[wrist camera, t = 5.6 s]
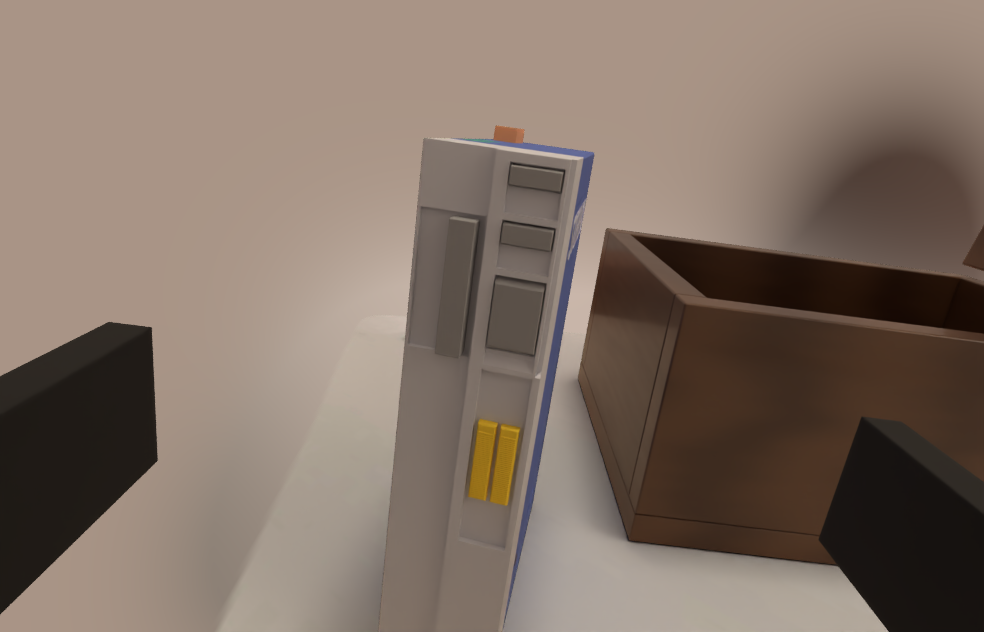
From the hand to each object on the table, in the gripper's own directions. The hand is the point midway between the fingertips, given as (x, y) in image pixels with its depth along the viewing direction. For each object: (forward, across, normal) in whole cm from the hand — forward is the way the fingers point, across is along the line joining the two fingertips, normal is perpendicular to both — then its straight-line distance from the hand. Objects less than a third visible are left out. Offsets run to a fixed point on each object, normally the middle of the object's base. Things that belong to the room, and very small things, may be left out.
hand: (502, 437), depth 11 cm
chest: (+13, +14, -6) cm, 20 cm away
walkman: (+4, 0, -7) cm, 8 cm away
